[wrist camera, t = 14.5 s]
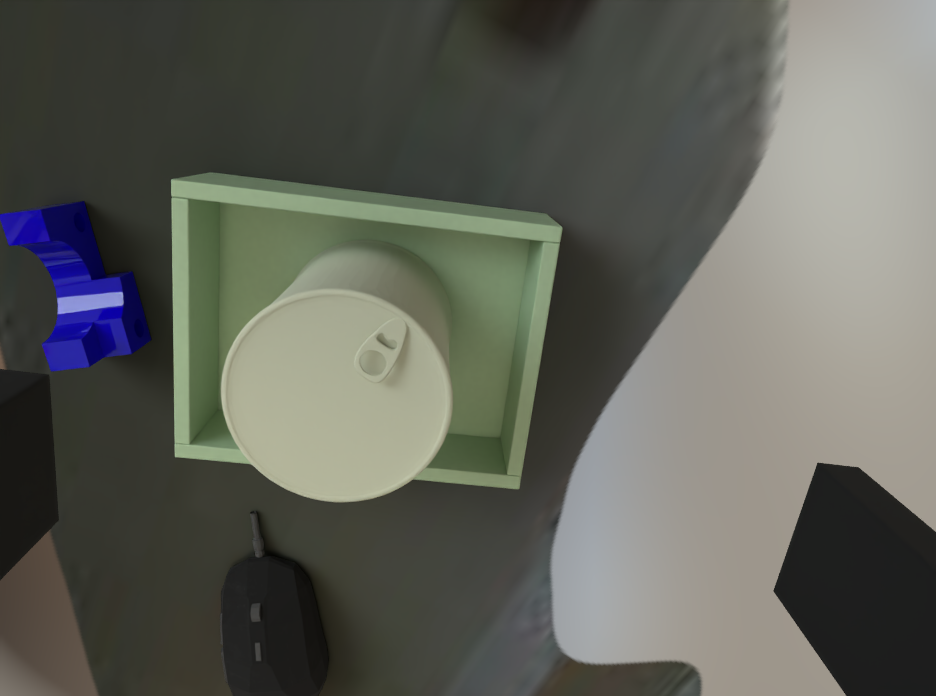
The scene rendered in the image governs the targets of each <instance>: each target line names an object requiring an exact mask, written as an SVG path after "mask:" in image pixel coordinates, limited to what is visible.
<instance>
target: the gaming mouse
mask: <svg viewBox="0 0 936 696" xmlns="http://www.w3.org/2000/svg"><path fill="white" fill-rule="evenodd" d="M250 514H251V520H252V527H253V533H254V538H253V539H252V540H253V546H254V550H255V556H256V557H251V558H249V559H247V560H245V561H243V562H241V563H239V564H237V565H235V566H233V567H231V568H230V570H229V572H228V574H227V576H226V579H225V582H224V585H223V588H222V591H221V613H220V630H221V644H223V648H222V649H221V654H222V661H223V668H224V675H225V680H226V683H228V685H229V687H230V689H231V692H232V694H233V696H318V695H319V693H320V692H321V690H322V688H323V685H324V683H325V680H326V677H327V669H328V660H329V658H328V653H327V648H326V642H325V638H324V635H323V631H322V627H321V624H320V619H319V614H318V610H317V605H316V601H315V597H314V594H313V590H312V587H311V583H310V580H309V579H308V577H307V576H306V575H305V574H304V573H303V571H302V570H301V569H300V568H299V566H298V565H297V564H296V563H294V562H291V561H287V560H284V559H281V558H277V557H274V556H264V555H265V553H264V549H263V548H264V544H263V538H262V537H261V536H260V531H259V524H258V518H257V512H256V511H253V512H251V513H250Z"/></svg>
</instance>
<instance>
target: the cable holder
mask: <svg viewBox="0 0 936 696" xmlns="http://www.w3.org/2000/svg"><path fill="white" fill-rule="evenodd" d="M0 220H1V223H2V226H3V229H4V232H5V235H6V238H7V241H8V244H9V246H12V245H18V246H23V247H25V248H27V249H29V250H31V251H32V252H33V253H35V254H36V255H37V256H38V257H39V258H40V259H41V261H42V262H43V263H44V265H45V266H46V268H47V269H48V271H49V273H50V275H51V277H52V280H53V282H54V286H55V289H56V294H57V300H58V316H57V322H56V326H55V328H54V331H53V333H52V334H51V336H50V337H49V338H48V340H46V341H45V342H44V343H42V346H43V349H44V352H45V355H46V358H47V361H48V364H49V367H50V370H51V371H58V370H67V369H75V368H84V367H90V366H92V365H93V364H95V363H96V362H98V361H99V360H101V359H102V358H104V357H111V356H119V355H127V354H132V353H134V352H135V351H137V350H138V349H139V348H141V347H142V346H144V345H145V344H146V343H148V342H149V341H151V337H150V333H149V329H148V326H147V322H146V319H145V315H144V311H143V308H142V304H141V301H140V297H139V293H138V290H137V286H136V283H135V279H134V275H133V272H132V271H130V272H122V273H114V274H105V271H104V268H103V264H102V261H101V258H100V254H99V251H98V247H97V244H96V240H95V237H94V234H93V230H92V227H91V223H90V220H89V216H88V213H87V209H86V206H85V203H84V201H80V202H72V203H64V204H56V205H47V206H42V207H36V208H31V209H26V210H20V211H15V212H10V213H4V214H0Z"/></svg>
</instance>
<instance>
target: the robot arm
mask: <svg viewBox="0 0 936 696" xmlns="http://www.w3.org/2000/svg"><path fill="white" fill-rule="evenodd" d="M58 520H59V518H58V502H57V487H56V471H55V456H54V441H53V425H52V410H51V394H50V379H49V375H47V374H38V373H30V372H21V371H12V370H4V369H0V580H1V579H2V578H3V577H4V576H5V575H6V574H7V573H8V572H9V571H10V570H11V569H12V567H13V566H15V564H16V563H17V562H18V561H19V560H20V559H21V558H22V557H23V556H24V555H25V554H26V553H27V552H28V551H29V550H30V549H31V548H32V547H33V546H34V545H35V544H36V543H37V542H38V541H39V540H40V539H41V538H42V537H43V536H44V535H45V534H46V533H47V532H48V531H49V530H50V529H51V528H52V527H53V525H54V524H55V523H56V522H57V521H58ZM774 593H775V594H776V595H777V597H778V598H779V600H780V601H781V602H782V604H783V605H784V607H785V608H786V610H787V611H788V613H789V614H790V615H791V617H792V618H793V620H794V621H795V623H796V624H797V626H798V627H799V628H800V630H801V631H802V633H803V634H804V635H805V637H806V638H807V640H808V641H809V643H810V644H811V646H812V647H813V648H814V650H815V651H816V653H817V654H818V655H819V657H820V658H821V660H822V661H823V663H824V664H825V666H826V667H827V668H828V670H829V671H830V673H831V674H832V676H833V677H834V679H835V680H836V681H837V683H838V684H839V686H840V687H841V688H842V690H843V691H844V693H845V694H846V696H936V532H935V531H934V530H933V529H931V528H930V527H929V526H928V525H926V523H924V522H923V521H922V520H921V519H920V518H918V517H917V516H916V515H915V514H914V513H912V512H911V511H910V510H909V509H908V508H906V507H905V506H904V505H903V504H902V503H900V502H899V501H898V500H897V499H896V498H894V497H893V496H892V495H891V494H890V493H889V492H887V491H886V490H885V489H884V488H883V487H881V486H880V485H879V484H878V483H877V482H875V481H874V480H873V479H872V478H871V477H869V476H868V475H867V474H866V473H865V472H863V471H862V470H861V469H860V468H858V467H850V466H842V465H833V464H824V463H817V466H816V469H815V472H814V476H813V478H812V481H811V484H810V486H809V489H808V492H807V495H806V498H805V501H804V504H803V507H802V510H801V513H800V516H799V518H798V521H797V524H796V527H795V530H794V533H793V536H792V539H791V542H790V545H789V548H788V550H787V553H786V556H785V559H784V562H783V565H782V568H781V571H780V573H779V576H778V580H777V582H776V585H775V588H774Z"/></svg>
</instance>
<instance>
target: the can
mask: <svg viewBox="0 0 936 696" xmlns="http://www.w3.org/2000/svg"><path fill="white" fill-rule="evenodd" d="M451 332H452V314H451V308H450V303H449V299H448V297H447V294H446V291H445V289H444V287H443V285H442V283H441V282H440V280H439V279H438V277H437V276H436V274H435V273H434V272H433V271H432V269H431V268H430V267H429V266H428V265H427V264H426V263H425V262H423V261H422V260H421V259H420V258H418V257H417V256H416V255H414V254H413V253H411V252H409V251H408V250H406V249H403V248H401V247H399V246H397V245H394V244H391V243H387V242H382V241H377V240H354V241H349V242H344V243H341V244H338V245H335V246H333V247H330V248H328V249H326V250H324V251H323V252H321V253H319V254H318V255H316V256H315V257H314V258H313V259H311V260H310V261H309V262H308V263H307V264H306V265H305V266H304V267H303V269H302V270H301V271H300V273H299V274H298V275H297V277H296V279H295V280H294V282H293V283H292V284H291V285H290V286H289V287H288V288H287V289H286V290H285V291H284V292H283V293H282V294H281V295H280V296H279V297H278V298H277V299H276V300H275V301H274V302H273V303H272V304H271V305H269V306H267V307H266V308H265V309H263V310H262V311H260V312H259V313H258V314H257V315H256V316H254V317H253V318H252V319H251V320H250V321H249V322H248V323H247V324H246V325H245V327H244V328H243V329H242V330H241V332H240V333H239V334H238V336H237V338H236V339H235V341H234V342H233V345H232V347H231V349H230V351H229V353H228V355H227V358H226V361H225V365H224V369H223V373H222V382H221V400H222V408H223V413H224V417H225V420H226V423H227V426H228V429H229V431H230V433H231V435H232V437H233V439H234V441H235V443H236V444H237V446H238V447H239V449H240V450H241V452H242V453H243V454H244V456H245V457H246V458H247V460H248V461H249V462H250V463H251V464H252V465H253V466H254V467H255V468H256V469H257V470H259V471H260V472H261V473H262V474H263V475H264V476H266V477H267V478H268V479H270V480H271V481H273V482H275V483H276V484H278V485H279V486H281V487H283V488H285V489H287V490H289V491H292V492H294V493H297V494H299V495H302V496H305V497H308V498H312V499H317V500H322V501H330V502H355V501H362V500H368V499H372V498H376V497H379V496H382V495H385V494H388V493H390V492H392V491H394V490H396V489H398V488H400V487H402V486H404V485H405V484H407V483H408V482H410V481H411V480H412V479H414V478H415V477H416V476H417V475H419V474H420V473H421V472H422V471H423V470H424V469H425V468H426V467H427V466H428V465H429V464H430V463H431V461H432V460H433V458H434V457H435V456H436V454H437V453H438V451H439V449H440V448H441V446H442V444H443V442H444V440H445V437H446V435H447V432H448V429H449V426H450V422H451V417H452V410H453V390H452V382H451V377H450V367H449V342H450V338H451Z"/></svg>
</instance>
